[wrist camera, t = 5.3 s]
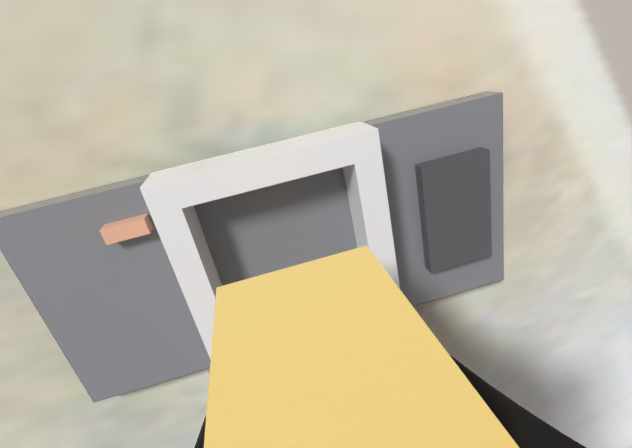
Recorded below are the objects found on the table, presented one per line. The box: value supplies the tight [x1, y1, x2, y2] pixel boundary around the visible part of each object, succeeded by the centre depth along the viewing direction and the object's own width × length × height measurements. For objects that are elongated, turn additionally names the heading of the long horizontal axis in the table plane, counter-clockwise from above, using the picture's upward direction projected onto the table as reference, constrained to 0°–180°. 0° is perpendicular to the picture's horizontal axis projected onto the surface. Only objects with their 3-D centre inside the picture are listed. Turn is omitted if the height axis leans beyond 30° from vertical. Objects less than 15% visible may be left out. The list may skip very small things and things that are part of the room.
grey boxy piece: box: [0, 91, 504, 402], centre depth 16 cm, size 20×10×3 cm, turn 102°
